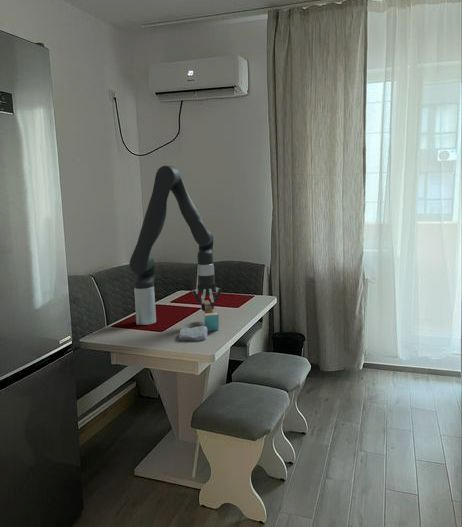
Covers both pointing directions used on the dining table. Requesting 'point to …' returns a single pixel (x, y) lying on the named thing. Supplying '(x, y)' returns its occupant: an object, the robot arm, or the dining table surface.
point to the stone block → (194, 333)
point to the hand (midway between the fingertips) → (207, 310)
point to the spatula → (208, 307)
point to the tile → (211, 321)
